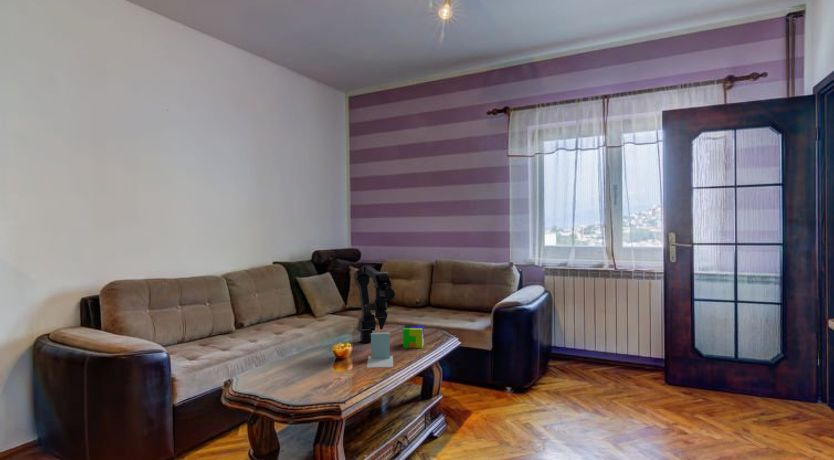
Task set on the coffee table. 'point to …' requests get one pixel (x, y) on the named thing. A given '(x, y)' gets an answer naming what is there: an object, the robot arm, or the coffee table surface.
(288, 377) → the coffee table surface
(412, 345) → the puzzle toy
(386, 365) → the mat
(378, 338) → the tile
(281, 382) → the coffee table surface
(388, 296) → the robot arm
